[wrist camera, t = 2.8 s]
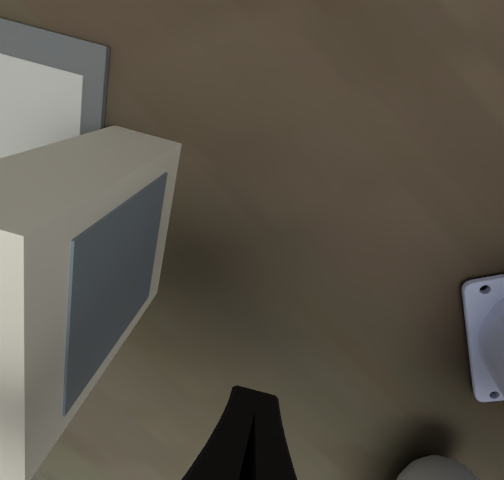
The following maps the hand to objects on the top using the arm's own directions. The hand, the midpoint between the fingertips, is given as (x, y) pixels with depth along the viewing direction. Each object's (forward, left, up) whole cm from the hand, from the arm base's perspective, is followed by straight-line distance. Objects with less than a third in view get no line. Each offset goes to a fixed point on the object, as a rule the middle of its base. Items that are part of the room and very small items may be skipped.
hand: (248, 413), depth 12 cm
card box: (+7, -4, -11) cm, 13 cm away
